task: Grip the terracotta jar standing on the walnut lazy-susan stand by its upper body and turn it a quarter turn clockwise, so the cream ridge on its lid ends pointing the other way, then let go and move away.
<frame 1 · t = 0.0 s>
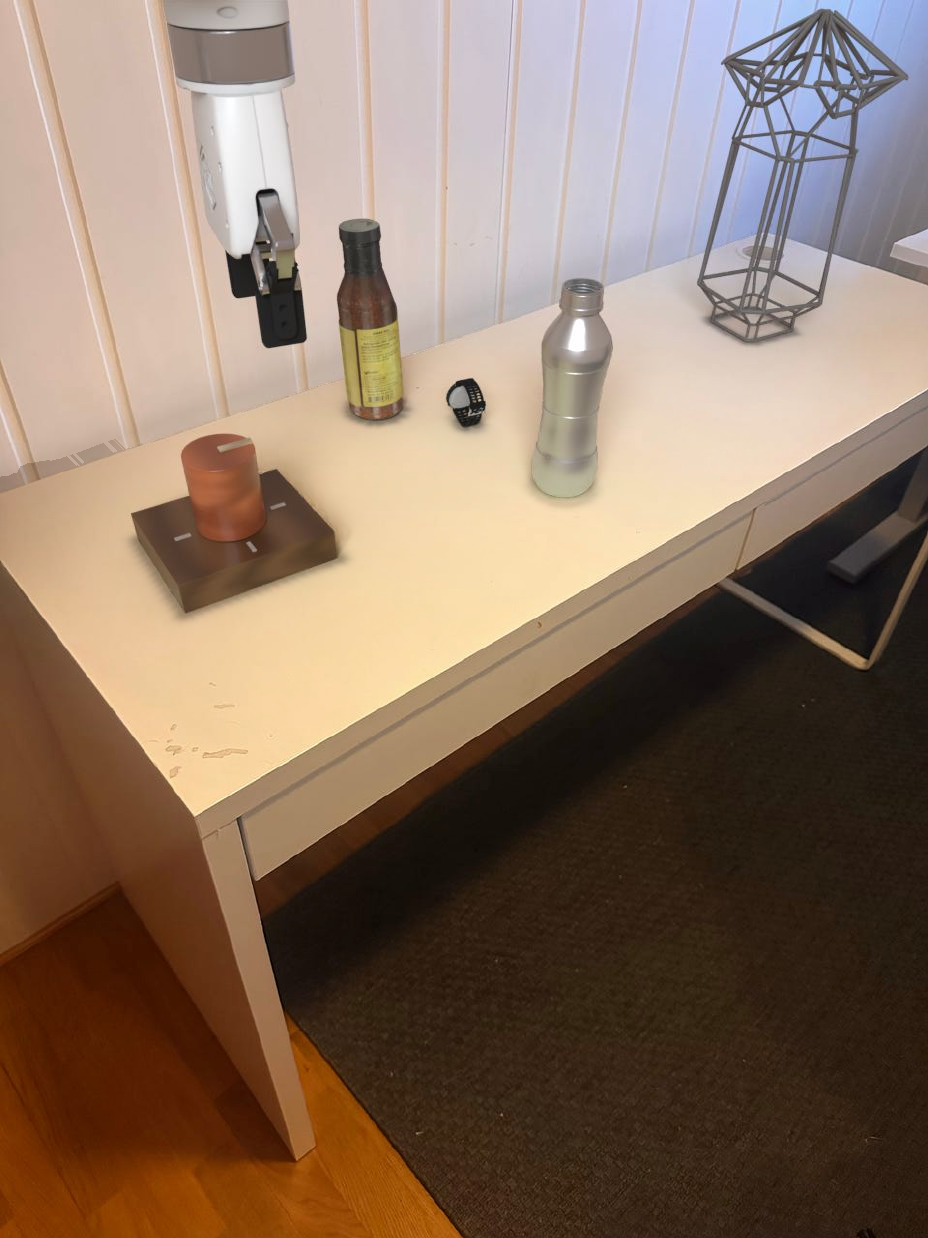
hand: (268, 318, 68), 21 cm above the table, tool pointing down, fingers open, 9 cm apart
jar: (224, 486, 76), point 7 cm above the table, hinge at 0.0°
turntable: (236, 549, 80), on the table
sauce bottle: (374, 410, 100), on the table
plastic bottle: (562, 488, 89), on the table
geometric lantern: (752, 327, 119), on the table
smartwatch: (465, 426, 98), on the table
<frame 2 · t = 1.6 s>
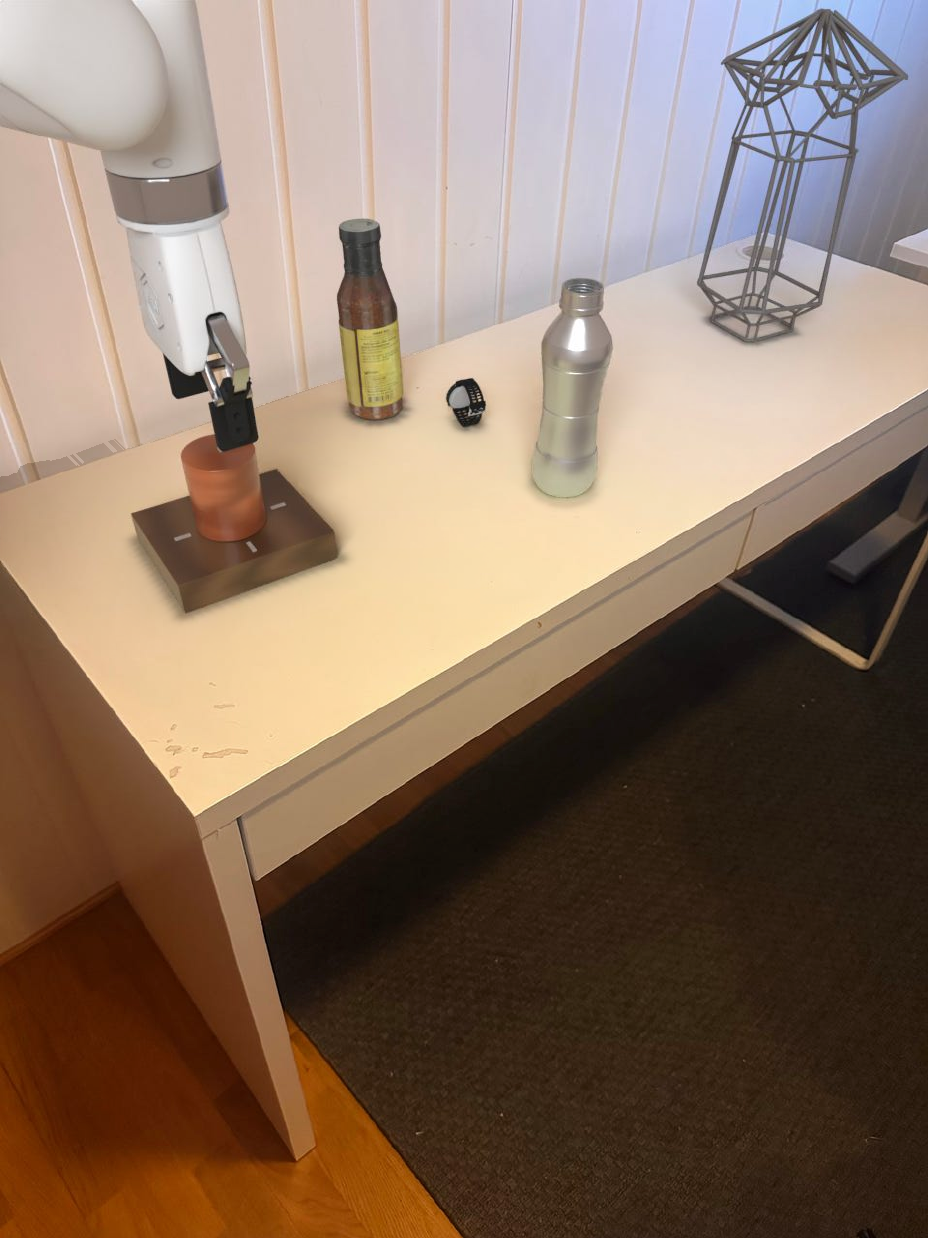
hand: (214, 418, 72), 13 cm above the table, tool pointing down, fingers open, 9 cm apart
nothing on the table moved.
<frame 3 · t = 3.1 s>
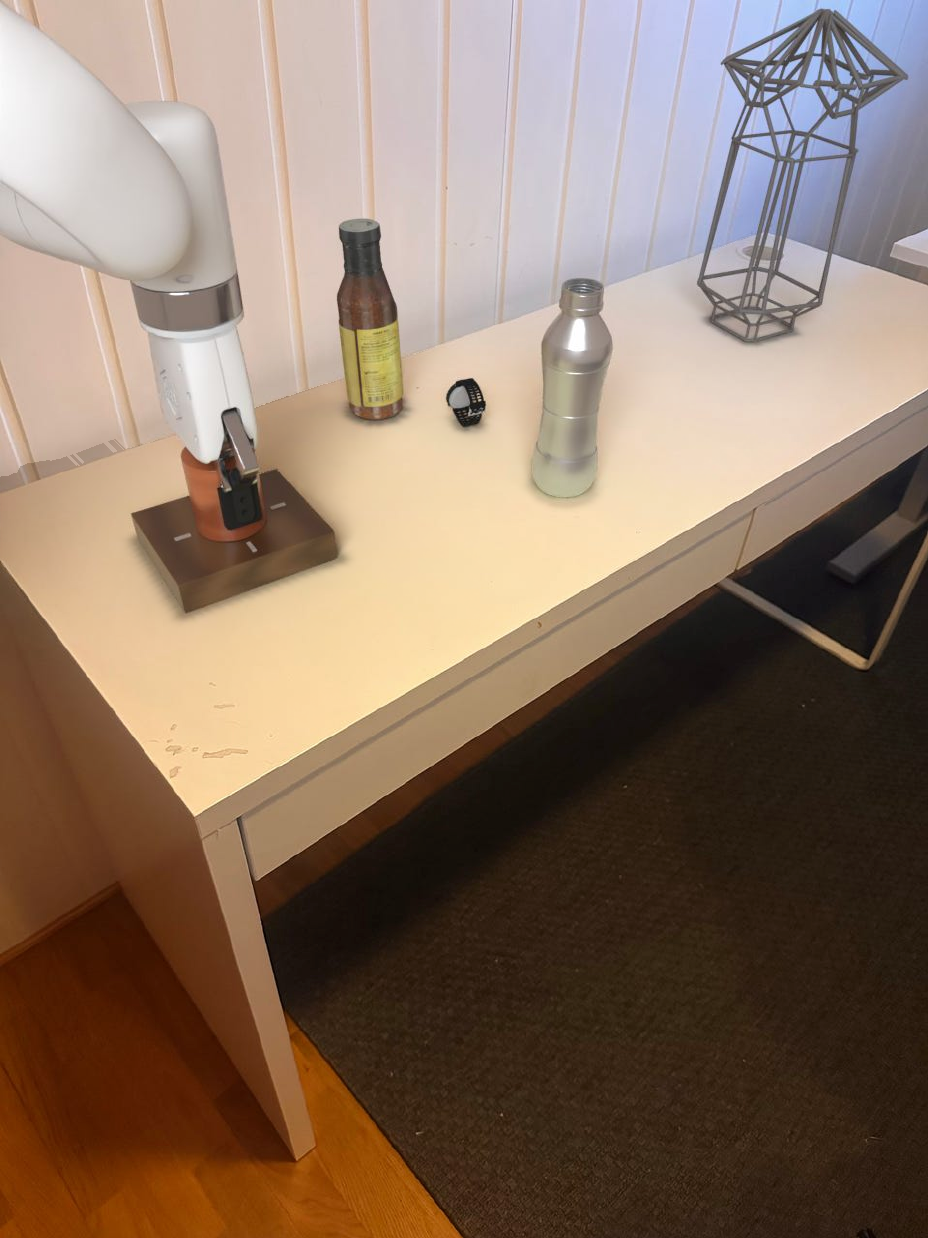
hand: (227, 502, 77), 5 cm above the table, tool pointing down, fingers closed on jar, 6 cm apart
jar: (224, 486, 76), point 7 cm above the table, hinge at 0.0°, touching gripper
everything else where it was.
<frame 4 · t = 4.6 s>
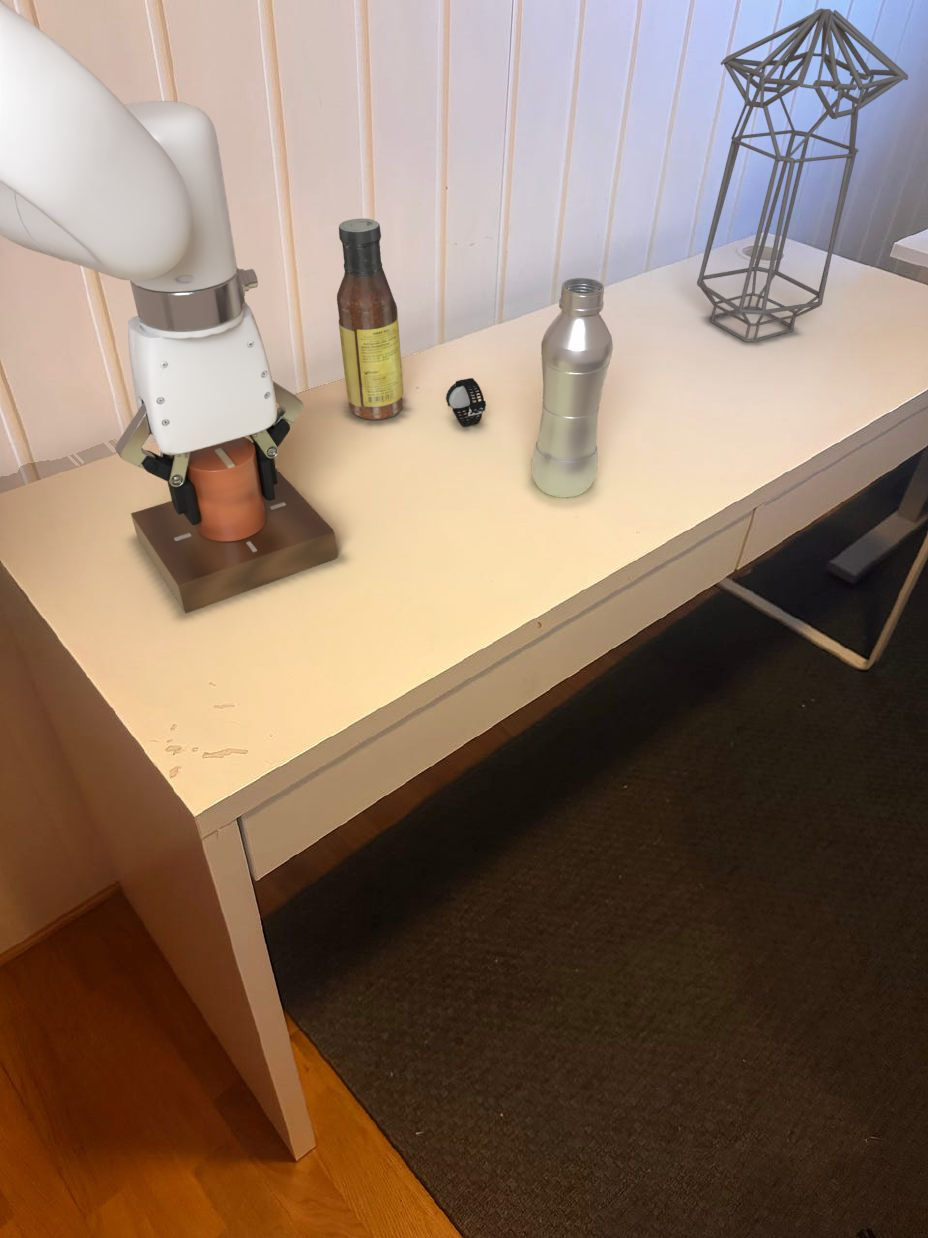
hand: (228, 503, 77), 5 cm above the table, tool pointing down, fingers closed on jar, 6 cm apart
jar: (224, 486, 76), point 7 cm above the table, hinge at -90.5°, touching gripper
everything else where it was.
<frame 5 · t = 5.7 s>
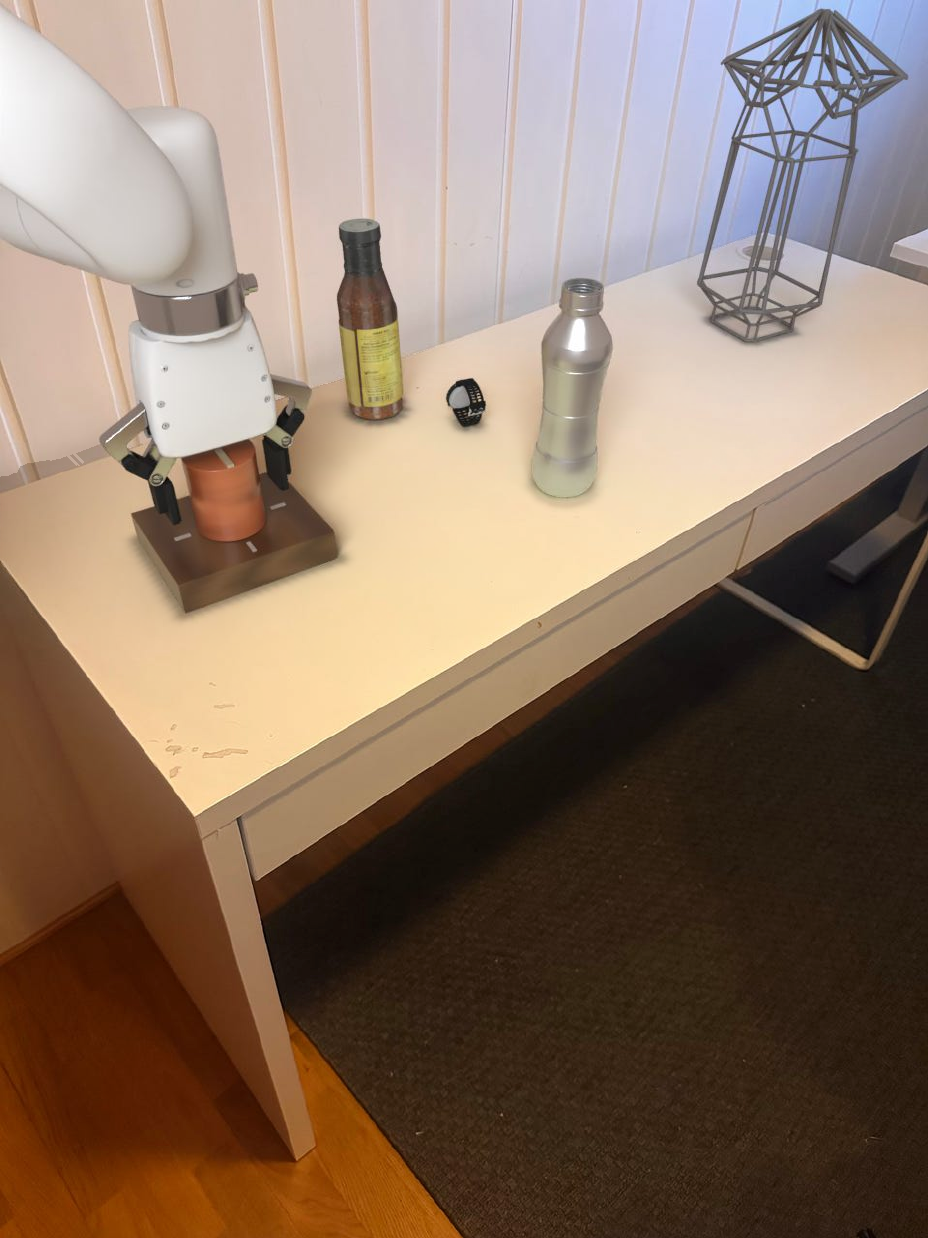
hand: (226, 499, 77), 5 cm above the table, tool pointing down, fingers open, 9 cm apart
jar: (224, 486, 76), point 7 cm above the table, hinge at -91.0°
everything else where it was.
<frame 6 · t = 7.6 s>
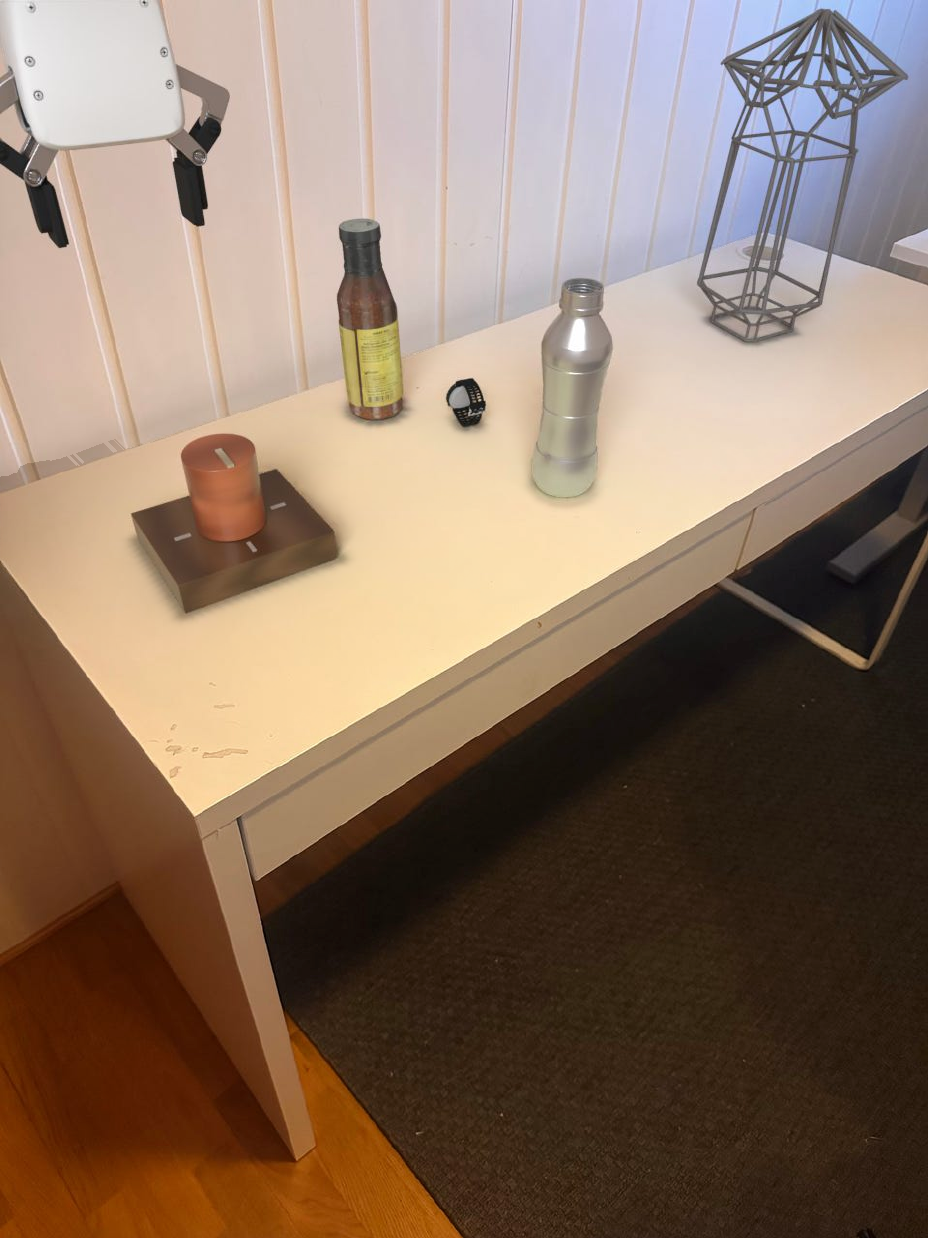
hand: (128, 231, 64), 27 cm above the table, tool pointing down, fingers open, 9 cm apart
nothing on the table moved.
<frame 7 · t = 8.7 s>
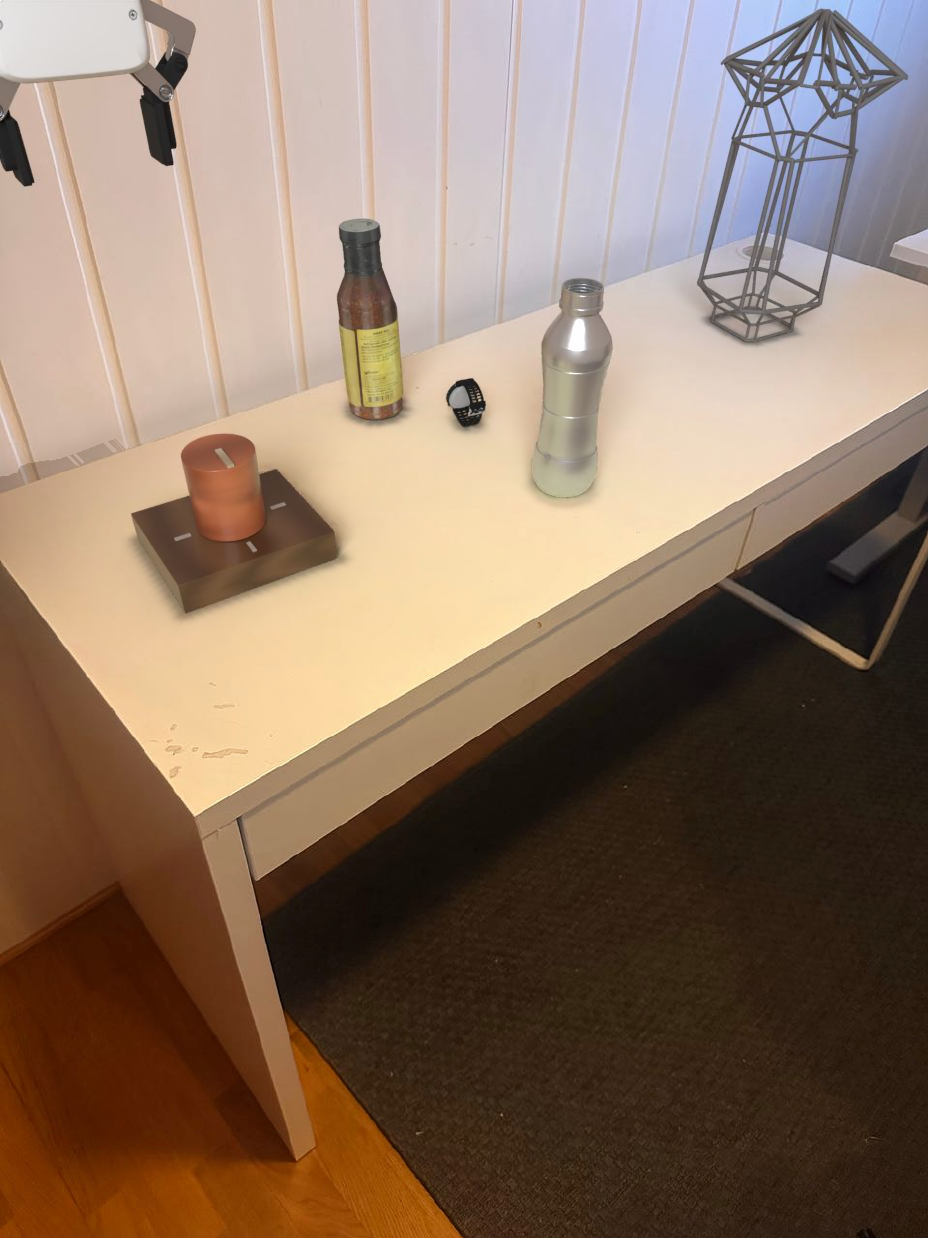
hand: (95, 170, 63), 30 cm above the table, tool pointing down, fingers open, 9 cm apart
nothing on the table moved.
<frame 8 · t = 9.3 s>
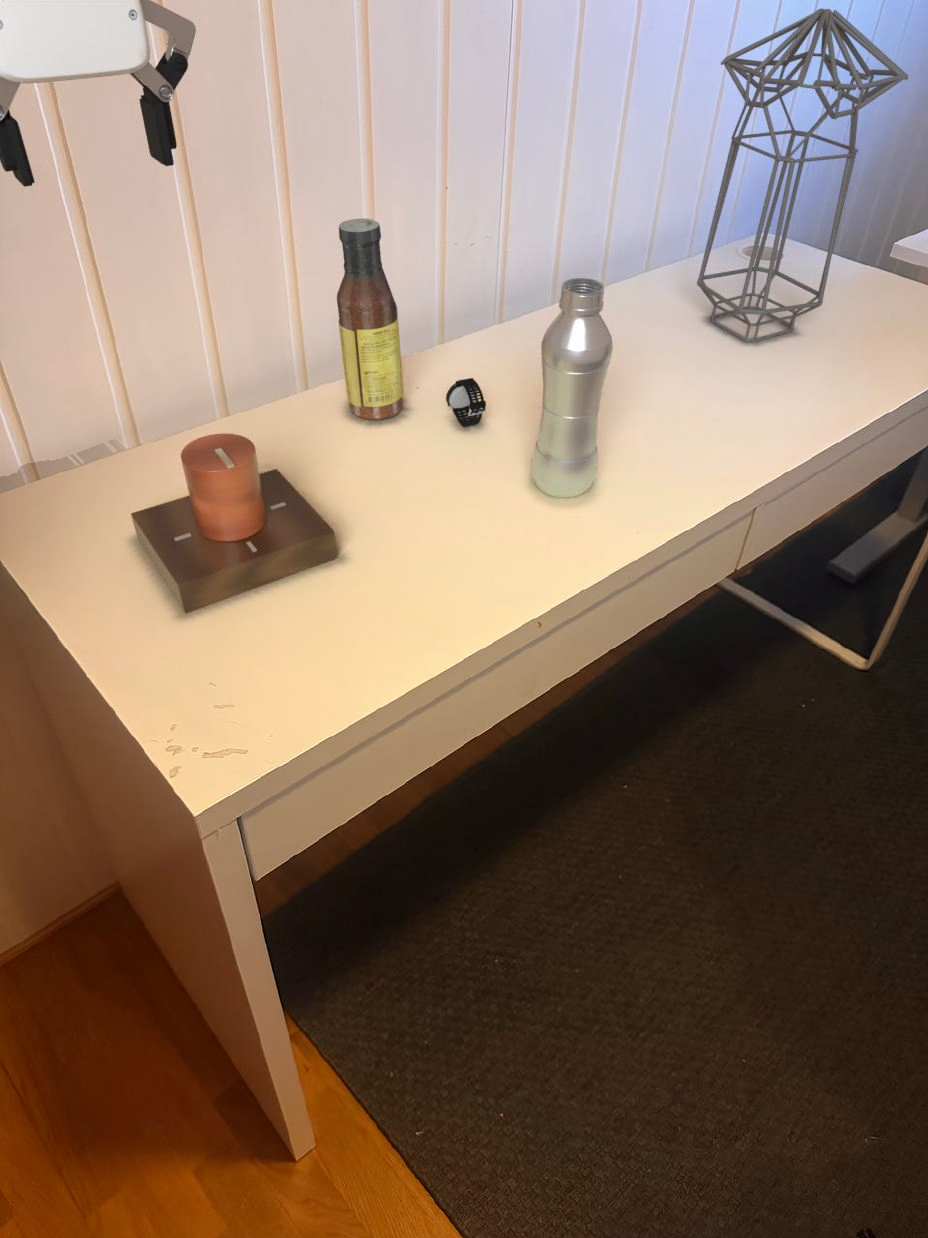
hand: (95, 170, 63), 30 cm above the table, tool pointing down, fingers open, 9 cm apart
nothing on the table moved.
at the end: jar at -91° (first picture: +0°) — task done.
